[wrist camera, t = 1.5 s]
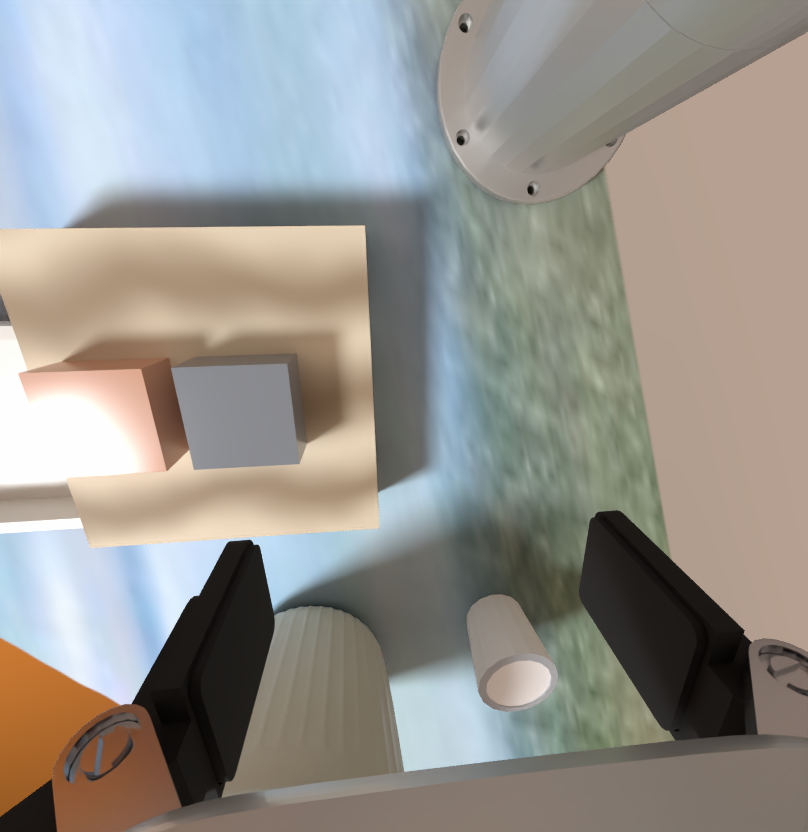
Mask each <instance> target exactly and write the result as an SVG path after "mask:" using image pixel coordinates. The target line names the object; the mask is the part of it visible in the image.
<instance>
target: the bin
mask: <svg viewBox="0 0 808 832" xmlns="http://www.w3.org/2000/svg"><path fill="white" fill-rule="evenodd" d="M25 371H28V370H27V367H26V364H25V361H24V358H23V356H22V353H21V350H20V347H19V344H18V341H17V339H16V336H15V333H14V330H13V327H12V325H11V322H10V320H6V321H0V533H11V532H27V531H42V530H58V529H73V528H83V525H82V523H81V520H80V517H79V514H78V511H77V508H76V506H75V503H74V500H73V497H72V494H71V491H70V489H69V486H68V483H67V480H66V477H57V478H56V477H55V474H54V471H53V468H52V466H51V463H50V460H49V457H48V455H47V452H46V449H45V446H44V444H43V441H42V438H41V435H40V433H39V430H38V427H37V424H36V422H35V419H34V416H33V413H32V411H31V408H30V405H29V402H28V400H27V397H26V394H25V391H24V389H23V386H22V383H21V380H20V378H19V375H18V373H21V372H25Z"/></svg>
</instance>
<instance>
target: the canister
mask: <svg viewBox="0 0 808 832" xmlns="http://www.w3.org/2000/svg"><path fill="white" fill-rule="evenodd" d="M274 618H275V628H274V634H273V638H272V641H271V645H270V649H269V653H268V656H267V660H266V664H265V667H264V671H263V675H262V679H261V682H260V686H259V690H258V693H257V697H256V701H255V704H254V708H253V712H252V716H251V719H250V723H249V727H248V730H247V734H246V738H245V741H244V745H243V749H242V753H241V756H240V760H239V764H238V767H237V771H236V774H235V777H234V779H233V780H232V781H230V782H226V783H225V787H224V790H223V794H222V797H221V798H223V797H228V796H233V795H238V794H244V793H251V792H258V791H264V790H271V789H278V788H285V787H292V786H299V785H306V784H313V783H320V782H328V781H336V780H344V779H352V778H360V777H368V776H377V775H385V774H393V773H401V772H404V768H403V762H402V756H401V749H400V743H399V737H398V730H397V724H396V719H395V713H394V707H393V701H392V696H391V691H390V685H389V680H388V675H387V670H386V665H385V661H384V658H383V655H382V651H381V648H380V646H379V644H378V642H377V640H376V638H375V636H374V635H373V633H372V632H371V631H370V630H369V629H368V627H367V626H366V625H365V624H363V623H361V621H360V620H359V619H358V618H355V617H353V616H352V615H351V614H350V613H345V612H343V611H342V610H337V609H333V608H332V607H323V606H311V605H310V606H307V607H302V606H300V607H298V608H295V609H291V608H290V609H288V610H287V611H284V612H279V613H278V614H276V615H275V616H274Z"/></svg>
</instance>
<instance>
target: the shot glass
mask: <svg viewBox="0 0 808 832" xmlns="http://www.w3.org/2000/svg"><path fill="white" fill-rule="evenodd" d="M466 623H467V629H468V635H469V641H470V646H471V652H472V658H473V664H474V669H475V675H476V681H477V687H478V692H479V694H480V696H481V698H482V700H483V702H484V703H486V704H487V705H489V706H490V707H491V708H493V709H497V710H502V711H506V712H508V711H519V710H524V709H527V708H529V707H532V706H535V705H537V704H538V703H540V702H541V701H543V700H544V699H545V698H547V697H548V696H549V695H550V693H551V692H552V691H553V689H554V688H555V687H556V683H557V678H558V673H557V670H556V667H555V665H554V663H553V661H552V659H551V658H550V656H549V654H548V653H547V651H546V649H545V648H544V646H543V644H542V643H541V641H540V639H539V637H538V636H537V634H536V632H535V631H534V629H533V627H532V626H531V624H530V622H529V621H528V619H527V617H526V615H525V614H524V612H523V610H522V609H521V607H520V605H519V604H518V602H517V601H515V600H514V599H513V598H512V597H509V596H506V595H502V594H498V595H489V596H487V597H484V598H481V599H479V600H478V601H477V602H476V603H474V604H473V605H472V606H471V608H470V610H469V611H468V613H467V620H466Z"/></svg>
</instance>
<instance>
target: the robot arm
mask: <svg viewBox="0 0 808 832" xmlns="http://www.w3.org/2000/svg"><path fill="white" fill-rule="evenodd" d="M459 28H464V29H465V30H466V33H464V32H462V31H461V30H460V29H459ZM806 32H808V0H462V1H461V3H460V4H459V6H458V7H457V9H456V11H455V14H454V16H453V18H452V21H451V23H450V26H449V28H448V30H447V33H446V36H445V40H444V43H443V46H442V50H441V53H440V59H439V65H438V72H437V90H436V102H437V108H438V115H439V122H440V126H441V129H442V132H443V136H444V139H445V142H446V145H447V147H448V149H449V151H450V153H451V155H452V156H453V158H454V160H455V162H456V164H457V165H458V166H459V168H460V169H461V170H462V171H463V173H464V174H465V175H466V177H467V178H468V179H469V180H470V181H471V182H473V183H474V184H475V185H476V186H477V187H478V188H480V189H481V190H482V191H484V192H486V193H487V194H489V195H491V196H493V197H495V198H497V199H499V200H503V201H506V202H510V203H513V204H529V205H532V204H538V203H544V202H549V201H552V200H555V199H557V198H560V197H563V196H565V195H567V194H569V193H571V192H573V191H575V190H577V189H579V188H580V187H582V186H583V185H584V184H586V183H587V182H588V181H589V180H591V179H592V178H593V177H595V176H596V175H597V174H598V173H599V172H600V170H601V169H602V168H603V167H604V166H605V165H606V164H607V163H608V162H609V161H610V159H611V158H612V157H613V155H614V154H615V152H616V151H617V149H618V148H619V146H620V145H621V143H622V141H623V139H624V137H625V135H626V133H628V132H629V131H631V130H633V129H635V128H637V127H638V126H640V125H642V124H644V123H645V122H647V121H649V120H651V119H653V118H655V117H656V116H658V115H660V114H662V113H664V112H665V111H667V110H669V109H671V108H672V107H674V106H676V105H678V104H680V103H681V102H683V101H685V100H686V99H689V98H690V97H692V96H694V95H696V94H697V93H699V92H701V91H703V90H704V89H706V88H708V87H710V86H712V85H713V84H715V83H717V82H719V81H721V80H722V79H724V78H726V77H728V76H729V75H731V74H733V73H735V72H737V71H738V70H740V69H742V68H744V67H746V66H747V65H749V64H751V63H753V62H754V61H756V60H758V59H760V58H762V57H763V56H765V55H767V54H769V53H770V52H772V51H774V50H776V49H778V48H780V47H781V46H783V45H785V44H786V43H788V42H790V41H792V40H794V39H796V38H797V37H799V36H801V35H803V34H805V33H806ZM458 138H461V139H462V140H463V145H462V146H460V145H458V143H457V141H456V140H457V139H458ZM527 187H530V188H531V190H532V193H531V195H529V194H528V192H527ZM579 595H580V599H581V601H582V603H583V605H584V607H585V608H586V610H587V611H588V613H589V615H590V616H591V618H592V619H593V621H594V623H595V624H596V626H597V627H598V629H599V630H600V632H601V634H602V635H603V637H604V638H605V640H606V641H607V643H608V645H609V646H610V648H611V649H612V651H613V652H614V654H615V656H616V657H617V659H618V660H619V662H620V664H621V665H622V667H623V668H624V670H625V671H626V673H627V675H628V676H629V678H630V679H631V681H632V682H633V684H634V686H635V687H636V689H637V690H638V692H639V693H640V695H641V697H642V698H643V700H644V701H645V703H646V704H647V706H648V708H649V709H650V711H651V712H652V714H653V716H654V717H655V719H656V720H657V722H658V723H659V725H660V726H661V727H662V728H663V729H665V730H666V731H667V730H669V731H670V733H671V734H672V736H673V737H674V739H675V741H667V742H658V743H649V744H640V745H631V746H622V747H613V748H604V749H595V750H586V751H578V752H569V753H560V754H551V755H543V756H534V757H526V758H517V759H509V760H500V761H492V762H483V763H475V764H466V765H458V766H450V767H441V768H433V769H425V770H417V771H409V772H401V773H393V774H385V775H377V776H368V777H360V778H352V779H344V780H336V781H328V782H320V783H313V784H306V785H299V786H292V787H285V788H278V789H271V790H264V791H258V792H251V793H244V794H238V795H233V796H228V797H223V798H221V797H222V794H223V790H224V787H225V783H226V782H230V781H232V780H233V779H234V777H235V774H236V771H237V767H238V764H239V760H240V756H241V753H242V749H243V745H244V741H245V738H246V734H247V730H248V727H249V723H250V719H251V716H252V712H253V708H254V704H255V701H256V697H257V693H258V690H259V686H260V682H261V679H262V675H263V671H264V667H265V664H266V660H267V656H268V653H269V649H270V645H271V641H272V638H273V634H274V628H275V618H274V613H273V608H272V603H271V598H270V593H269V589H268V584H267V579H266V574H265V569H264V564H263V559H262V555H261V550H260V547H259V545H253V542H252V541H251V540H242V541H230V542H228V543H227V544H226V546H225V548H224V550H223V552H222V554H221V555H220V557H219V559H218V561H217V563H216V565H215V567H214V569H213V571H212V572H211V574H210V576H209V578H208V580H207V582H206V584H205V586H204V588H203V589H202V591H201V593H200V595H199V596H194V597H193V598H191V599H190V601H189V602H188V603H187V605H186V607H185V609H184V610H183V612H182V614H181V616H180V618H179V619H178V621H177V623H176V625H175V627H174V628H173V630H172V632H171V634H170V636H169V637H168V639H167V641H166V643H165V645H164V646H163V648H162V650H161V652H160V654H159V655H158V657H157V659H156V661H155V663H154V664H153V666H152V668H151V670H150V672H149V674H148V675H147V677H146V679H145V681H144V683H143V684H142V686H141V688H140V690H139V692H138V693H137V695H136V697H135V699H134V701H133V702H132V704H124V705H121V706H118V707H114V708H112V709H109V710H108V711H106V712H104V713H102V714H100V715H98V716H96V717H95V718H94V719H92V720H91V721H90V722H88V723H87V724H86V725H84V726H83V727H82V728H81V729H80V730H79V731H78V732H77V733H76V734H75V735H74V736H73V737H72V738H71V739H70V740H69V742H68V743H67V745H66V746H65V747H64V749H63V750H62V751H61V753H60V755H59V757H58V759H57V761H56V764H55V766H54V768H53V776H52V779H51V780H50V781H48V782H47V783H46V784H44V785H43V786H42V787H40V788H39V789H37V790H36V791H35V792H33V793H32V794H31V795H29V796H28V797H27V798H25V799H24V800H23V801H21V802H20V803H19V804H17V805H16V806H14V807H13V808H12V809H10V810H9V811H8V812H6V813H5V814H4V815H2V816H1V817H0V832H808V652H806V651H805V650H803V649H801V648H798V647H796V646H794V645H791V644H789V643H786V642H783V641H779V640H775V639H765V638H764V639H759V640H755V641H754V642H753V643H752V642H751V641H750V640H749V639H748V638H747V637H746V636H745V635H744V631H745V630H743V629H742V628H741V627H740V626H739V625H738V624H737V623H736V622H735V621H734V620H733V619H732V618H731V617H730V616H729V615H728V614H727V613H726V612H725V611H724V610H723V609H722V608H721V607H720V606H719V605H718V604H717V603H715V602H714V601H713V600H712V599H711V598H710V597H709V596H708V595H707V594H706V593H705V592H704V591H703V590H702V589H701V588H700V587H699V586H698V585H697V584H696V583H695V582H694V581H693V580H692V579H690V577H689V576H687V575H686V574H685V573H684V572H683V571H682V570H681V569H680V568H679V567H678V566H677V565H676V564H675V563H674V562H673V561H672V560H671V559H670V558H669V557H668V556H667V555H666V554H665V553H664V552H663V551H662V550H661V549H659V548H658V547H657V546H656V545H655V544H654V543H653V542H652V541H651V540H650V539H649V538H648V537H647V536H646V535H645V534H644V533H643V532H642V531H641V530H640V529H639V528H638V527H637V526H636V525H635V524H634V523H633V522H631V521H630V520H629V519H628V518H627V517H626V516H625V515H624V514H623V513H622V512H620V511H617V510H616V511H604V512H598V513H596V515H595V517H594V518H591V520H590V524H589V530H588V536H587V543H586V549H585V555H584V562H583V568H582V575H581V581H580V587H579Z"/></svg>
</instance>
